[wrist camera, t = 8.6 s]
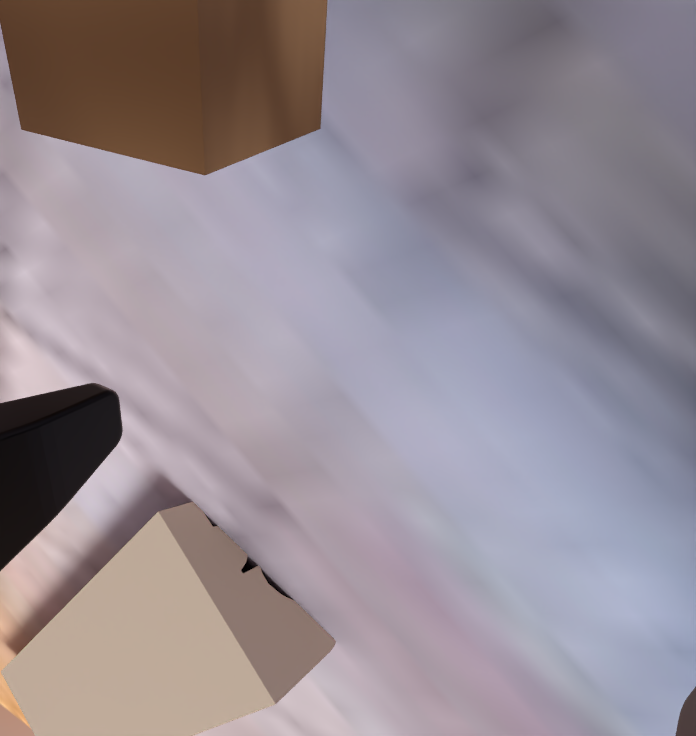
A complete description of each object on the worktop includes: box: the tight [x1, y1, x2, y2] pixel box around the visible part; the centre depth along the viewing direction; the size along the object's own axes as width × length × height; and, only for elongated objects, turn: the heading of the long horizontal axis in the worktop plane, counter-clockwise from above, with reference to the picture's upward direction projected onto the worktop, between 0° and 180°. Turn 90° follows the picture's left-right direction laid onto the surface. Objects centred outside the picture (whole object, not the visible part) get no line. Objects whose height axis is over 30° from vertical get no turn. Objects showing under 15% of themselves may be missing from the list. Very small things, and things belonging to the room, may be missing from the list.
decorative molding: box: [1, 502, 336, 736], centre depth 41 cm, size 34×5×10 cm
